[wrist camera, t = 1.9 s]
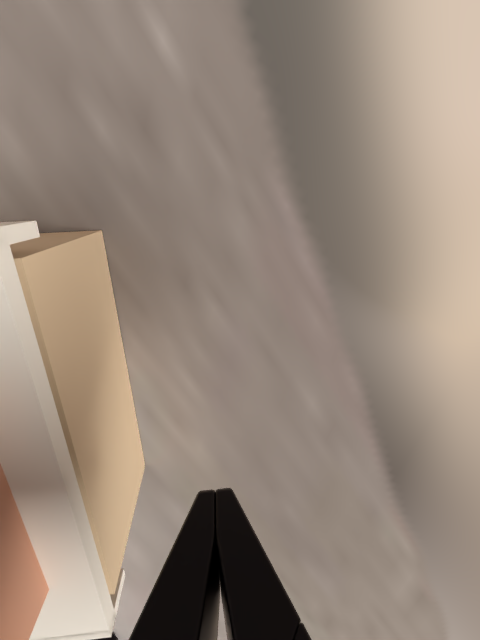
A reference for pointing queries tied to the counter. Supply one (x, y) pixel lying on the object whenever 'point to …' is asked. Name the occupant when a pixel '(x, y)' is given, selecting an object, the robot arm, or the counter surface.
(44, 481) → the lid
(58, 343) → the wooden box
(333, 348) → the counter surface
